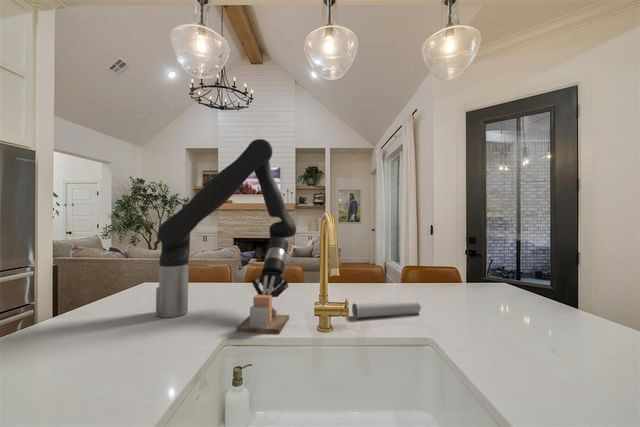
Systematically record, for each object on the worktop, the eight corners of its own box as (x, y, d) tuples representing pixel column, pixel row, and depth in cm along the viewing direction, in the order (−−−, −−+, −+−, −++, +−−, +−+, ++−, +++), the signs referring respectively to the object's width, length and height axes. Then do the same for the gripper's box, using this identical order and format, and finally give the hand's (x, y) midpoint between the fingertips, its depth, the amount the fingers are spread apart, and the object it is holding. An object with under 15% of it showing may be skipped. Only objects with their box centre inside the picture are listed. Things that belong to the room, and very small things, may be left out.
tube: (414, 299, 109) (351, 303, 103) (422, 298, 105) (356, 302, 98) (416, 314, 108) (352, 319, 102) (424, 314, 103) (358, 319, 97)
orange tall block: (253, 323, 90) (253, 297, 90) (256, 320, 93) (256, 294, 93) (269, 324, 89) (269, 297, 89) (271, 320, 92) (272, 295, 92)
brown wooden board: (236, 331, 87) (236, 327, 87) (251, 317, 100) (251, 313, 100) (279, 333, 86) (279, 329, 86) (288, 318, 99) (289, 315, 99)
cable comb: (261, 315, 98) (261, 307, 98) (262, 314, 99) (262, 306, 99) (276, 316, 97) (276, 308, 98) (277, 315, 99) (277, 307, 99)
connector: (249, 328, 87) (249, 307, 87) (252, 324, 90) (253, 305, 90) (266, 328, 86) (266, 308, 86) (268, 325, 89) (269, 305, 89)
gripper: (254, 256, 104) (241, 300, 91) (291, 257, 102) (283, 302, 90) (259, 268, 109) (247, 312, 96) (294, 269, 107) (286, 314, 95)
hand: (264, 307), depth 93 cm, fingers closed
